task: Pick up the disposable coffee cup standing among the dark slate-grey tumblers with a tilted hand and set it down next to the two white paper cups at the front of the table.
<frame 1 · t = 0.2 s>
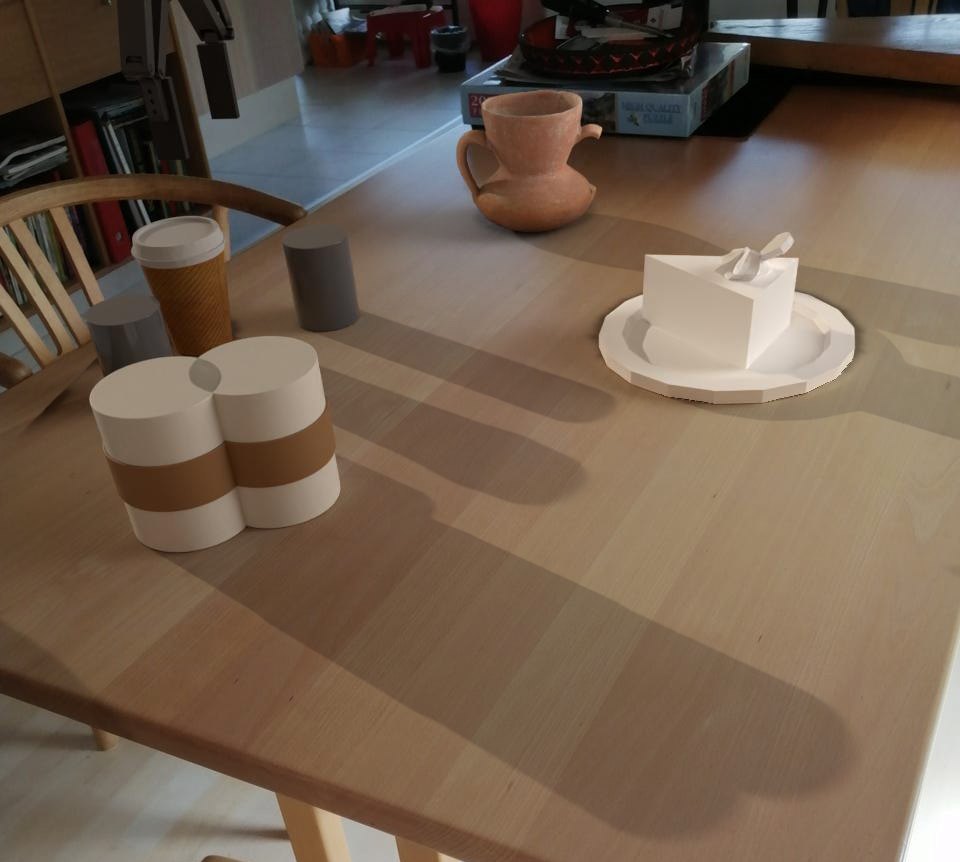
hand: (201, 137, 98), 21 cm above the table, tool pointing down, fingers open, 13 cm apart
ceramic jug: (530, 223, 134), on the table
grey tumblers: (148, 396, 104), on the table
disposable coffee cup: (204, 344, 112), on the table
white paper cups: (195, 517, 86), on the table
dish: (723, 345, 104), on the table
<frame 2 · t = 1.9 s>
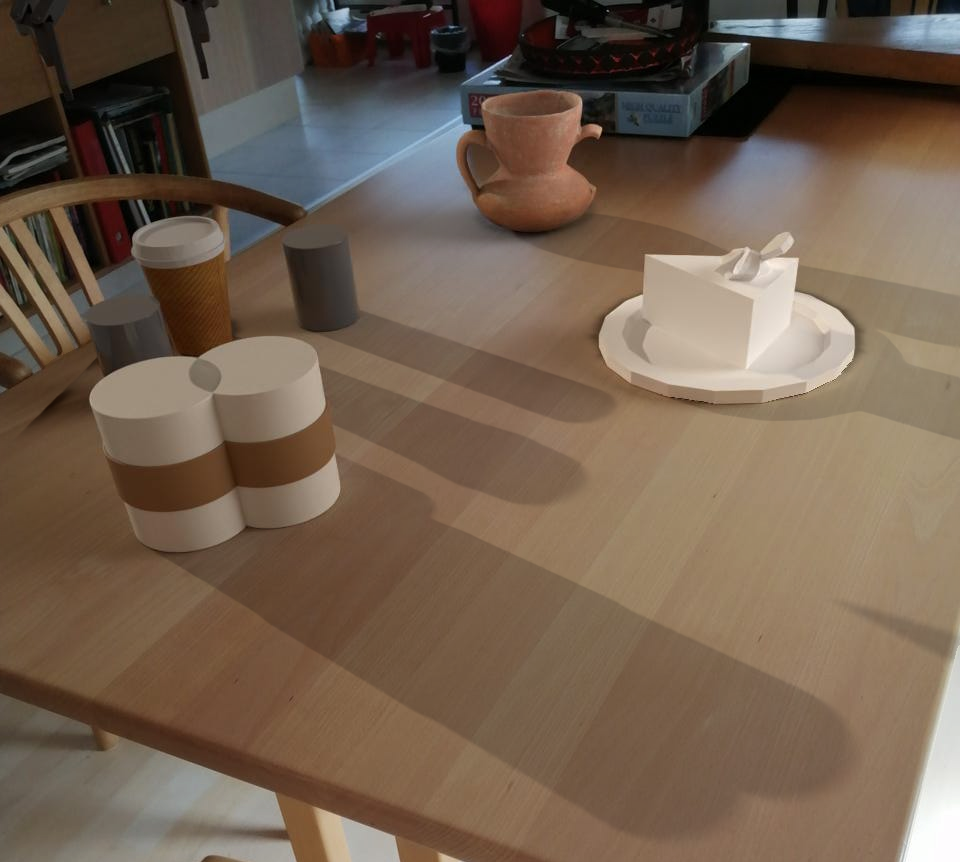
hand: (136, 82, 104), 24 cm above the table, tool tilted 45°, fingers open, 13 cm apart
nothing on the table moved.
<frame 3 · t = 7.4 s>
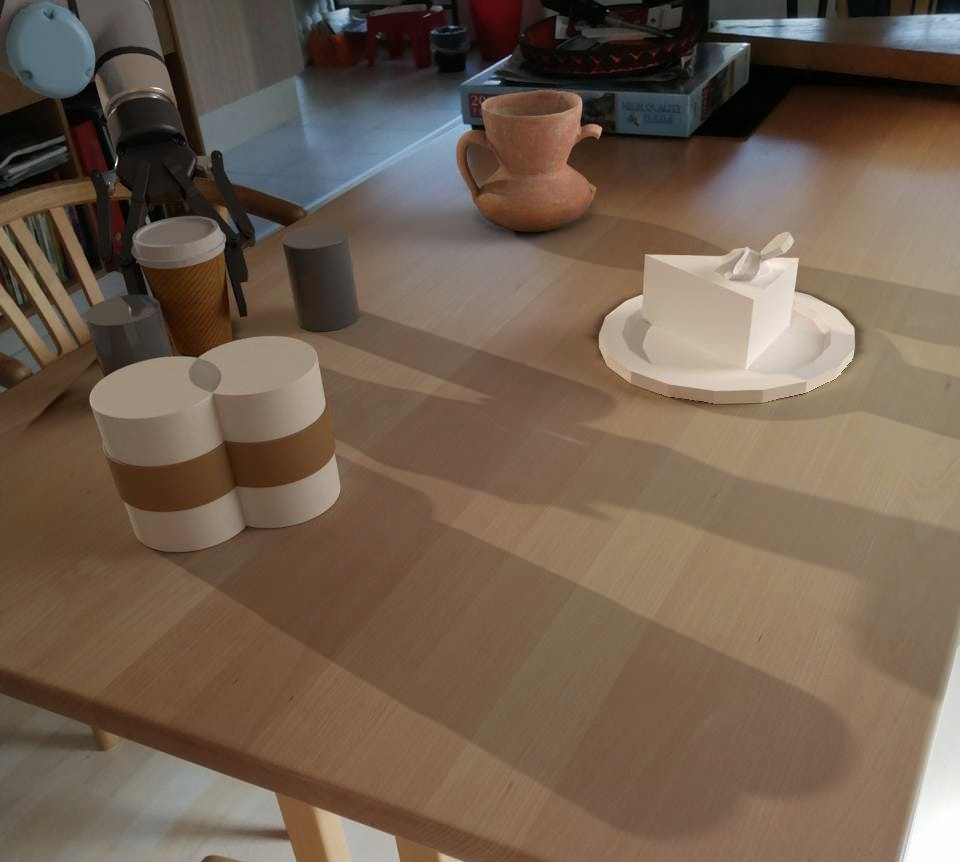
hand: (198, 319, 107), 4 cm above the table, tool tilted 45°, fingers closed on disposable coffee cup, 9 cm apart
disposable coffee cup: (204, 344, 112), on the table, touching gripper
everything else where it was.
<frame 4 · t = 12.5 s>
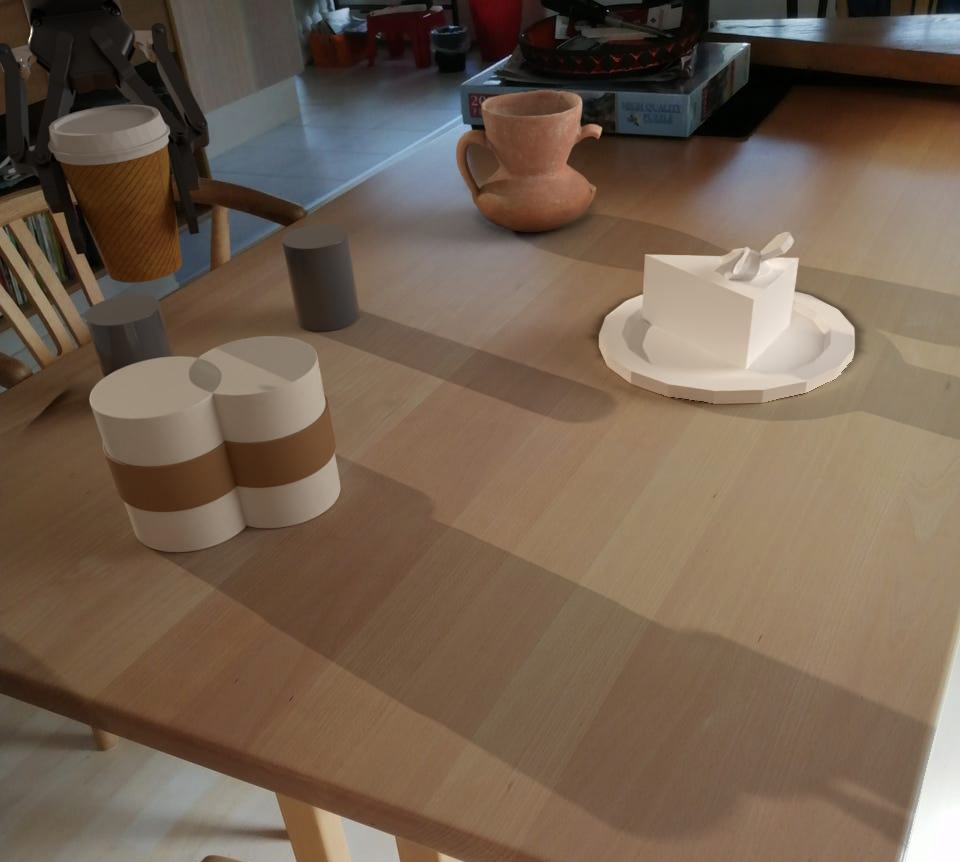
hand: (136, 235, 85), 19 cm above the table, tool tilted 45°, fingers closed on disposable coffee cup, 9 cm apart
disposable coffee cup: (146, 271, 90), point 14 cm above the table, touching gripper
everything else where it was.
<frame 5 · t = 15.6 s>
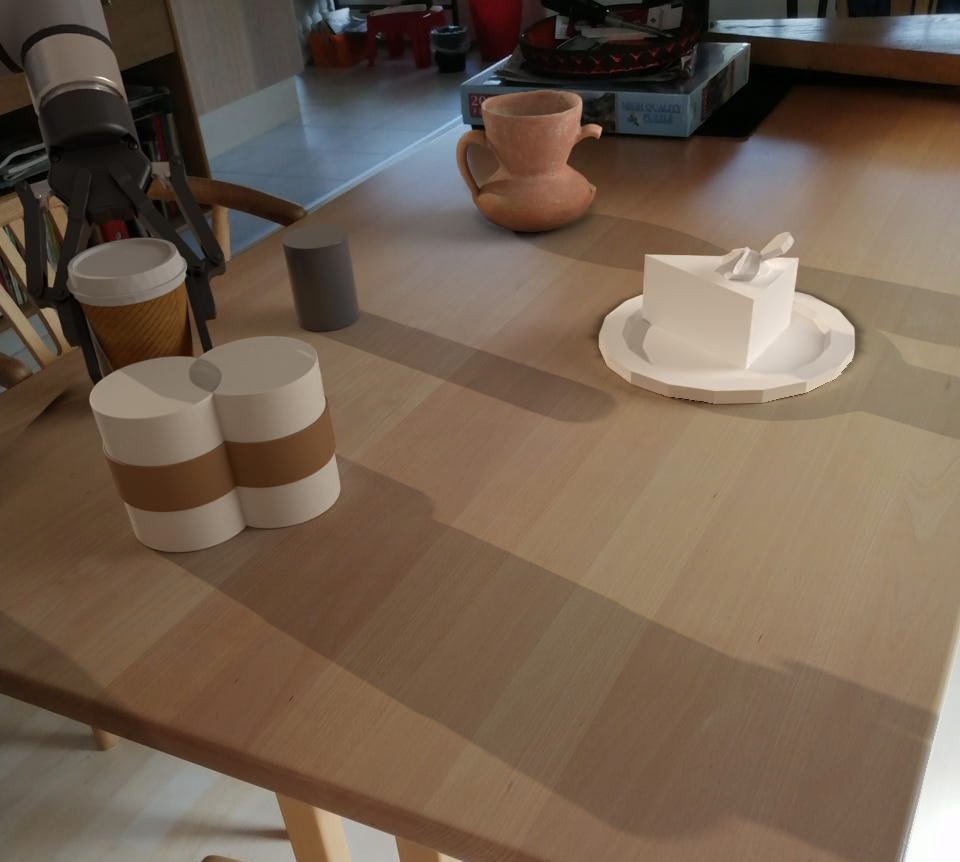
hand: (154, 368, 85), 10 cm above the table, tool tilted 45°, fingers closed on disposable coffee cup, 9 cm apart
disposable coffee cup: (163, 396, 91), point 6 cm above the table, touching gripper
everything else where it was.
when the fingers open (4 cm above the table, at t = 17.7 s): disposable coffee cup stays where it is, on the table.
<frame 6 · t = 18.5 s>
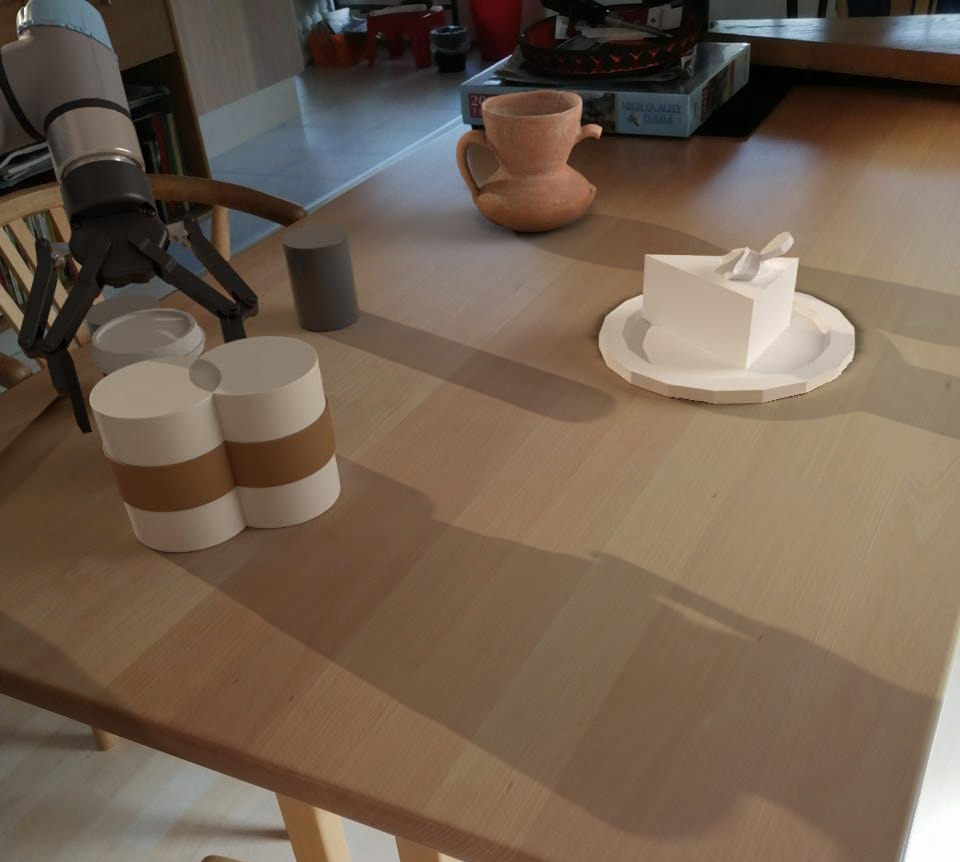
hand: (165, 412, 89), 5 cm above the table, tool tilted 45°, fingers open, 13 cm apart
disposable coffee cup: (181, 456, 94), on the table
everything else where it was.
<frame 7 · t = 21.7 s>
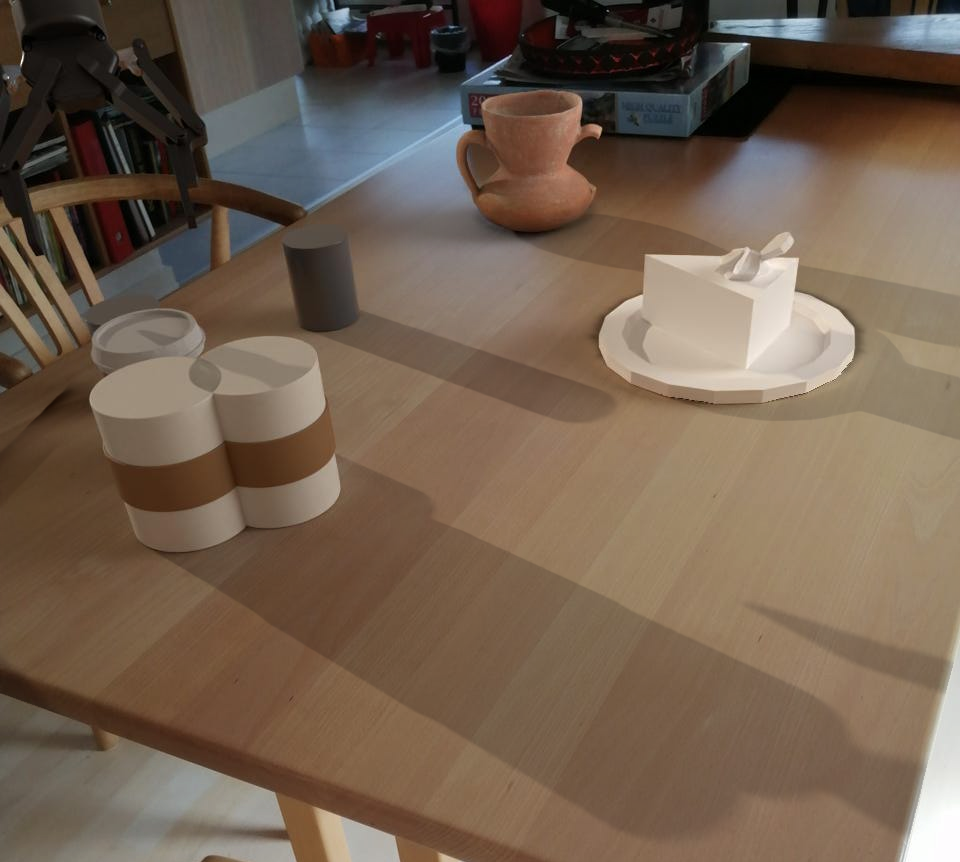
hand: (115, 236, 92), 16 cm above the table, tool tilted 40°, fingers open, 13 cm apart
nothing on the table moved.
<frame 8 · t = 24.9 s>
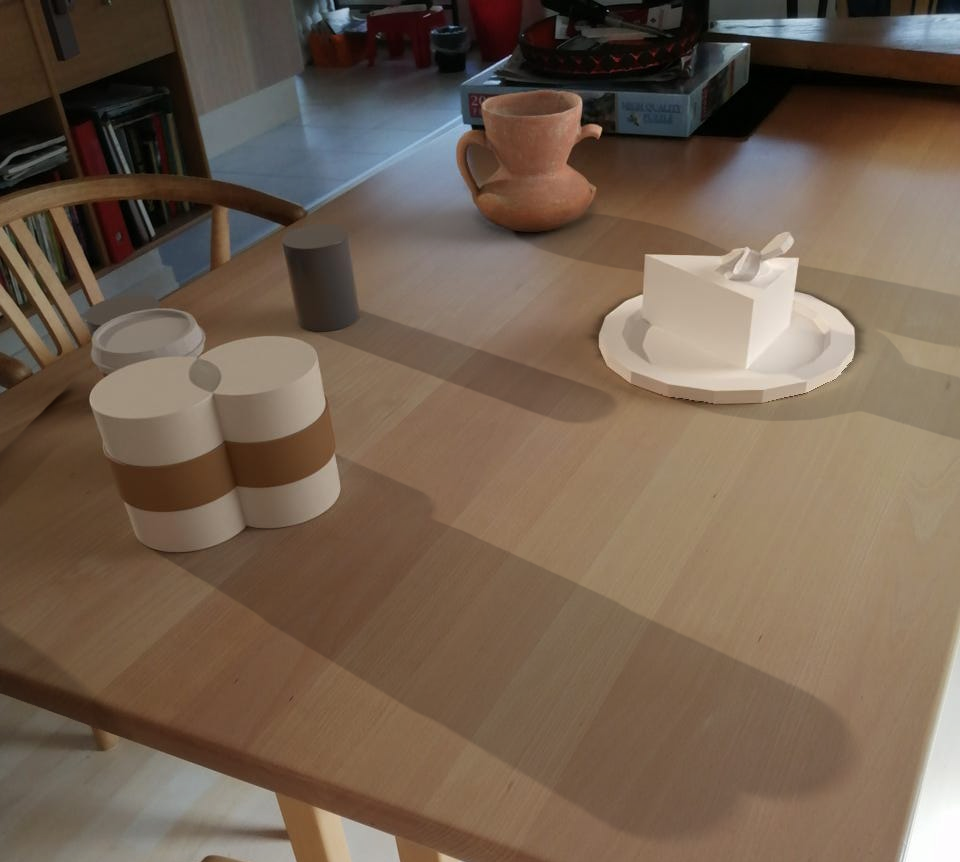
nothing on the table moved.
at the end: disposable coffee cup inside the target area on the white paper cups (0.1 cm from its centre), point 0.0 cm above the white paper cups's base; disposable coffee cup tilted 0°; the gripper is holding nothing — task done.
